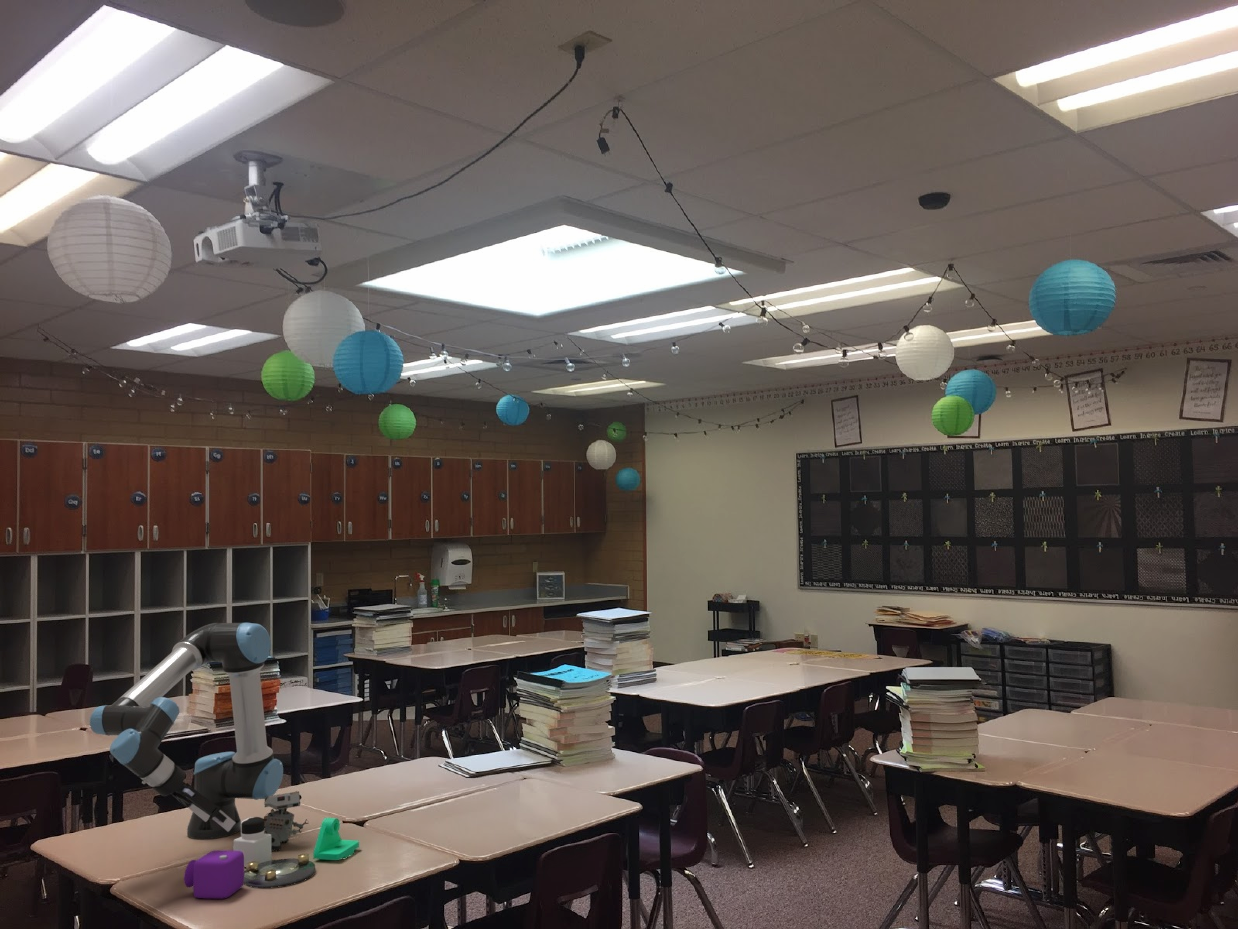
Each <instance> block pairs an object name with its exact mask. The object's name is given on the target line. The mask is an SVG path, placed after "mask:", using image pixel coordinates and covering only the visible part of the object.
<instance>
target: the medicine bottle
mask: <svg viewBox="0 0 1238 929" xmlns="http://www.w3.org/2000/svg"><path fill="white" fill-rule="evenodd" d="M264 830H265V828H264V817H260V816H251V817H247V818H245V819H243V820H242V821H241V829H240V836H239V837H237V838H235V839H233V850H232V851H241V852H243V854H244V867H246V869H247V863H248V862H251V861H257V862H258V864H260V863H263V862H267V861H272V851H271V834H264Z"/></svg>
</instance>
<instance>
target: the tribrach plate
mask: <svg viewBox="0 0 1238 929" xmlns="http://www.w3.org/2000/svg"><path fill="white" fill-rule="evenodd" d="M315 872H316V865H315V863H314V862H313V861H312V860H310V854H309V853H300V854H299V855H297V858H278V859H273V860H272V859H271V861H267V862H263V863H260V864H258V862H257V861H251V862H248V863H247V868H246V869H244V882H243V885H245V884H246V885H245V886H247V887H250V886H252V887H251V888H254V887H258V888H257V889H272V888H271V887H277V888H279V887H278V886H284V887H287V886H286V885H289V886H292V885H291V884H293V885H295V884H294V883H297V884H298V883H302V882H305V881H306V880H305V879H307V880H308V878H309V877H310V878H312V877H313V876H314V875H315ZM313 874H314V875H313ZM312 875H313V876H312ZM311 876H312V877H311ZM310 878H309V879H310ZM304 880H305V881H304Z"/></svg>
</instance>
